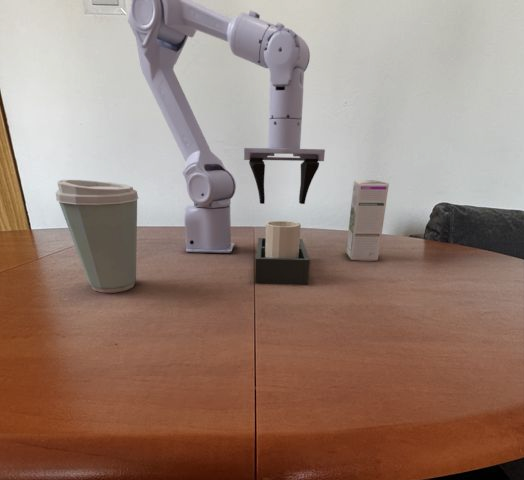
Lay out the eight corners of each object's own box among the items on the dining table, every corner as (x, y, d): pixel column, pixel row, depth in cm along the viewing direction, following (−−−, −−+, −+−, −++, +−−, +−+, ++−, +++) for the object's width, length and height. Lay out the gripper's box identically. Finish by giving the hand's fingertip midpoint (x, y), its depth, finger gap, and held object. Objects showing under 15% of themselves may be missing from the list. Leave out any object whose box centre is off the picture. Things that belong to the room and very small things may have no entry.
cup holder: (255, 283, 61) (255, 258, 59) (258, 258, 76) (258, 237, 74) (307, 284, 61) (309, 259, 59) (300, 259, 76) (302, 238, 74)
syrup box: (378, 261, 76) (391, 182, 69) (349, 260, 76) (359, 181, 69) (371, 254, 81) (383, 180, 74) (344, 253, 81) (353, 179, 74)
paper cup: (259, 274, 63) (260, 224, 60) (272, 266, 68) (274, 219, 64) (290, 278, 61) (293, 228, 58) (301, 270, 66) (305, 222, 62)
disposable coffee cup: (145, 274, 64) (133, 178, 57) (153, 294, 55) (140, 183, 48) (77, 280, 61) (55, 178, 54) (74, 302, 52) (47, 184, 45)
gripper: (320, 122, 70) (314, 201, 76) (242, 120, 68) (242, 200, 74) (330, 119, 63) (323, 205, 70) (244, 117, 62) (245, 205, 68)
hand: (282, 203), depth 72 cm, fingers open, 7 cm apart
